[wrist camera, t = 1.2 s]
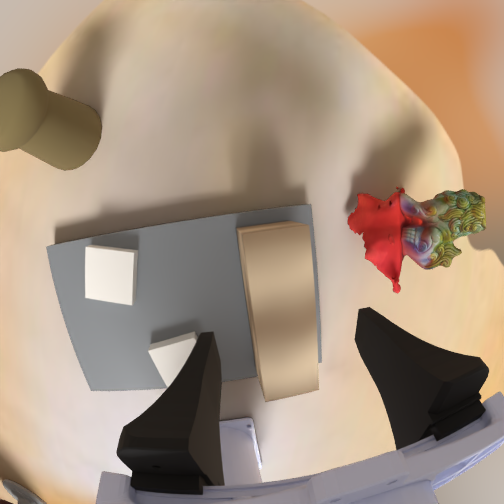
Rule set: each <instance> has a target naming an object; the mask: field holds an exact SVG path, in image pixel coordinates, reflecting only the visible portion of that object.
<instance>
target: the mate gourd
mask: <svg viewBox="0 0 504 504" xmlns="http://www.w3.org/2000/svg"><path fill="white" fill-rule="evenodd" d="M3 486H4V488H5V489H6V490H7V491H8V492H9V493H10V494H11V495H12V496H13V497H14V498H15V499H16V500H17V501H18V504H46V503H45V502H44V501H43V500H42V499H40V498H39V497H38V496H36V495H35V494H34V493H32V492H31V491H29V490H28V489H26V488H24V487H23V486H21V485H19V484H17V483H15V482H13V481H11V480H7V479H4V480H3ZM0 504H13V503H10V502H8V501H5V500H0Z"/></svg>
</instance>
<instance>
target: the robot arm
mask: <svg viewBox="0 0 504 504" xmlns="http://www.w3.org/2000/svg"><path fill="white" fill-rule="evenodd" d="M355 342H356V345H357V348H358V350H359V353H360V356H361V358H362V359H363V361H364V363H365V365H366V367H367V369H368V371H369V373H370V375H371V376H372V378H373V380H374V382H375V384H376V386H377V388H378V390H379V392H380V394H381V397H382V400H383V403H384V405H385V408H386V411H387V414H388V418H389V421H390V424H391V428H392V432H393V436H394V440H395V444H396V449H397V450H396V451H391V452H387V453H384V454H381V455H378V456H375V457H372V458H369V459H366V460H363V461H359V462H356V463H353V464H349V465H345V466H342V467H338V468H334V469H331V470H328V471H324V472H321V473H318V474H314V475H309V476H304V477H298V478H292V479H286V480H280V481H272V482H264V483H262V479H261V475H260V470H259V469H261V468H262V464H261V459H260V454H259V449H258V444H257V439H256V434H255V429H254V423H253V419H252V418H250V417H247V418H241V419H234V420H227V421H220V422H219V414H220V399H221V383H222V374H221V360H220V356H219V352H218V348H217V344H216V340H215V335H214V331H212V332H202V333H200V334H199V336H198V339H197V341H196V343H195V345H194V347H193V349H192V351H191V353H190V355H189V357H188V359H187V360H186V362H185V364H184V366H183V367H182V369H181V370H180V372H179V373H178V375H177V376H176V378H175V379H174V381H173V382H172V383H171V385H170V386H169V387H168V388H167V390H166V391H165V392H164V393H163V394H162V395H161V396H160V397H159V398H158V400H157V401H156V402H155V403H154V404H152V405H151V406H150V407H149V408H148V409H147V410H146V411H145V412H144V413H142V414H141V415H140V416H139V417H137V418H136V419H134V420H133V421H132V422H130V423H129V424H127V425H126V426H124V427H123V430H122V433H121V435H120V439H119V443H118V448H117V456H118V457H119V458H120V460H121V461H122V462H123V463H124V464H125V465H126V466H127V467H129V468H130V469H131V470H132V477H130V476H127V475H123V474H117V473H111V472H105V471H103V472H102V473H101V478H100V483H99V488H98V494H97V499H96V504H439V503H438V500H437V498H436V495H435V493H434V490H436V489H437V488H439V487H441V486H443V485H444V484H446V483H448V482H449V481H451V480H453V479H454V478H456V477H457V476H459V475H461V474H462V473H464V472H465V471H467V470H468V469H470V468H471V467H473V466H474V465H475V464H477V463H478V462H480V461H481V460H483V459H484V458H485V457H487V456H488V455H490V454H491V453H493V452H494V451H495V450H497V449H498V448H499V447H500V446H501V445H502V444H503V443H504V396H503V395H502V393H501V392H498V393H496V394H495V395H493V396H491V397H490V398H488V399H487V400H485V401H484V402H483V403H481V402H480V399H481V395H480V393H479V391H480V389H481V387H482V386H483V384H484V382H485V381H486V379H487V377H488V373H489V368H488V367H487V366H486V364H485V363H484V362H483V361H482V359H481V358H480V357H474V356H468V355H463V354H459V353H455V352H451V351H448V350H445V349H442V348H439V347H437V346H434V345H432V344H429V343H427V342H425V341H423V340H421V339H419V338H417V337H415V336H413V335H412V334H410V333H408V332H406V331H405V330H403V329H402V328H400V327H398V326H397V325H395V324H394V323H392V322H391V321H389V320H388V319H386V318H385V317H384V316H382V315H381V314H379V313H378V312H376V311H375V310H373V309H372V308H370V307H367V308H362V309H359V311H358V319H357V326H356V334H355ZM248 424H250V425H248Z"/></svg>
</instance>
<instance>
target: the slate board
mask: <svg viewBox="0 0 504 504" xmlns="http://www.w3.org/2000/svg"><path fill="white" fill-rule="evenodd" d="M286 220H289V221H293V222H298V223H302V224H307V225H309V229H310V239H311V250H312V261H313V274H314V287H315V303H316V320H317V342H318V363H321V362H322V355H321V327H320V306H319V289H318V275H317V262H316V250H315V239H314V228H313V218H312V209H311V204H303V205H294V206H286V207H277V208H269V209H261V210H254V211H246V212H239V213H231V214H224V215H217V216H210V217H204V218H197V219H190V220H184V221H178V222H171V223H165V224H159V225H153V226H147V227H142V228H136V229H130V230H125V231H119V232H114V233H108V234H103V235H98V236H93V237H87V238H82V239H77V240H73V241H68V242H63V243H58V244H54V245H50V246H47V247H46V248H47V253H48V258H49V263H50V268H51V273H52V277H53V281H54V285H55V289H56V293H57V297H58V300H59V304H60V308H61V311H62V314H63V318H64V321H65V324H66V327H67V330H68V333H69V336H70V339H71V342H72V345H73V347H74V350H75V353H76V356H77V358H78V361H79V363H80V366H81V368H82V371H83V373H84V376H85V378H86V380H87V383H88V385H89V387H90V389H91V391H126V390H148V389H163V388H167V386H166V384H165V382H164V380H163V379H162V377H161V375H160V373H159V371H158V369H157V367H156V366H155V364H154V362H153V360H152V358H151V356H150V354H149V352H148V350H149V347H150V345H151V344H153V343H157V342H160V341H164V340H167V339H171V338H174V337H177V336H181V335H184V334H188V333H191V332H194V331H195V333H196V335H197V337H198V336H199V334H200V333H202V332H212V331H214V335H215V340H216V344H217V348H218V352H219V356H220V360H221V374H222V382H225V381H232V380H238V379H244V378H250V377H256V376H258V375H257V371H256V368H255V362H254V355H253V348H252V341H251V335H250V328H249V321H248V314H247V307H246V300H245V293H244V286H243V279H242V272H241V265H240V257H239V250H238V243H237V235H236V228H235V227H242V226H249V225H256V224H263V223H271V222H278V221H286ZM89 245H99V246H107V247H115V248H124V249H132V250H138V260H137V281H136V301H135V302H134V304H133V305H126V304H120V303H113V302H107V301H101V300H95V299H89V298H85V249H86V247H87V246H89Z"/></svg>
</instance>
